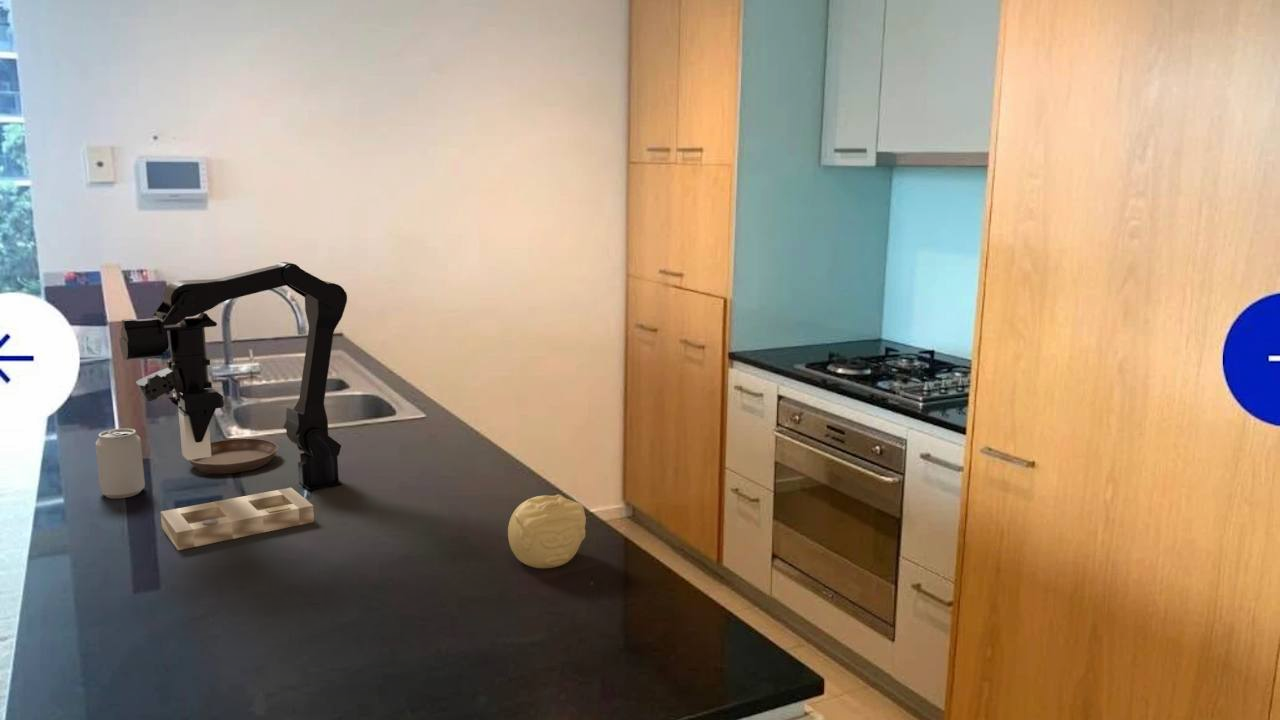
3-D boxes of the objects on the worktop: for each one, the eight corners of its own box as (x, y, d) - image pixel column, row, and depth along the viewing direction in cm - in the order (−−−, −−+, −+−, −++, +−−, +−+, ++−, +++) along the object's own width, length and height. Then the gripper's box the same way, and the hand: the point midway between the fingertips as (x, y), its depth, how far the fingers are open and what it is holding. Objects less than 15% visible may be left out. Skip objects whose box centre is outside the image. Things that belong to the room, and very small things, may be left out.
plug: (205, 451, 179) (201, 397, 178) (211, 456, 176) (207, 402, 174) (182, 455, 177) (177, 400, 175) (187, 460, 174) (182, 405, 172)
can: (126, 501, 182) (120, 438, 180) (91, 498, 183) (84, 435, 181) (154, 488, 189) (148, 427, 187) (119, 485, 191) (113, 425, 188)
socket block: (292, 503, 181) (291, 486, 181) (314, 522, 172) (313, 504, 171) (162, 528, 169) (160, 510, 168) (178, 550, 159) (176, 531, 158)
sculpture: (525, 581, 148) (524, 513, 146) (498, 553, 159) (497, 489, 157) (594, 567, 153) (594, 501, 151) (564, 541, 164) (563, 479, 162)
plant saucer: (273, 474, 199) (272, 459, 199) (178, 480, 195) (177, 465, 194) (283, 449, 216) (282, 436, 215) (196, 454, 212) (194, 440, 211)
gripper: (127, 350, 176) (135, 434, 179) (149, 367, 161) (157, 459, 164) (194, 343, 182) (201, 425, 185) (221, 360, 168) (227, 448, 171)
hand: (195, 439), depth 176 cm, fingers closed on plug, 4 cm apart
